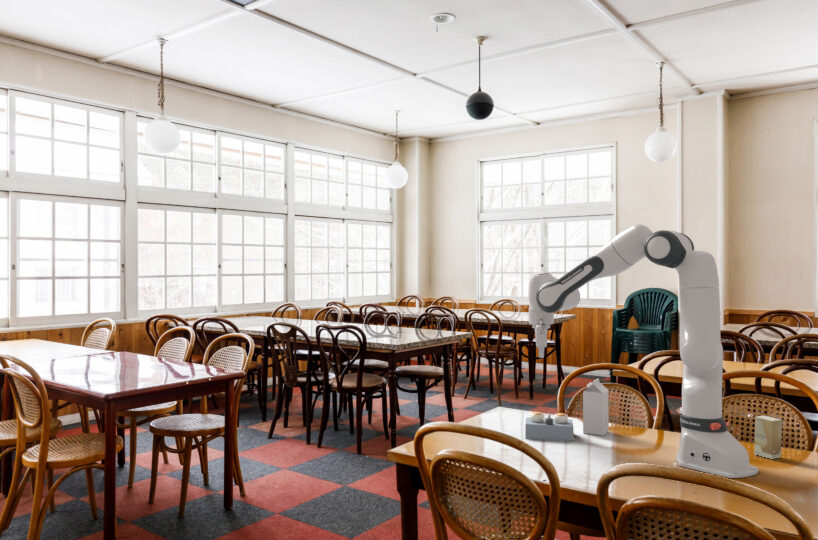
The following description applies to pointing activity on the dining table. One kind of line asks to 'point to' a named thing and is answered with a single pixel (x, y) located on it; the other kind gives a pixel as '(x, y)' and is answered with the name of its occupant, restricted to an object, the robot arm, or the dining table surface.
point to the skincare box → (768, 437)
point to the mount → (549, 430)
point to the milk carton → (595, 409)
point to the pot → (549, 420)
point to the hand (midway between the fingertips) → (541, 357)
